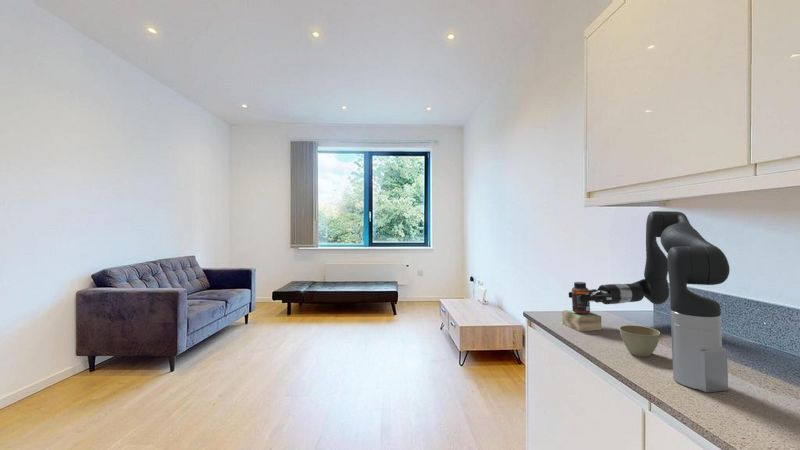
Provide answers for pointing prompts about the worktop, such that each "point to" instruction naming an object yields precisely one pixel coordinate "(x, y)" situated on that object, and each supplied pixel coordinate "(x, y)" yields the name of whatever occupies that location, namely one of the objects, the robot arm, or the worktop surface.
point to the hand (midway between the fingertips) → (574, 296)
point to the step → (582, 320)
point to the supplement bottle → (576, 303)
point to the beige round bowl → (639, 339)
